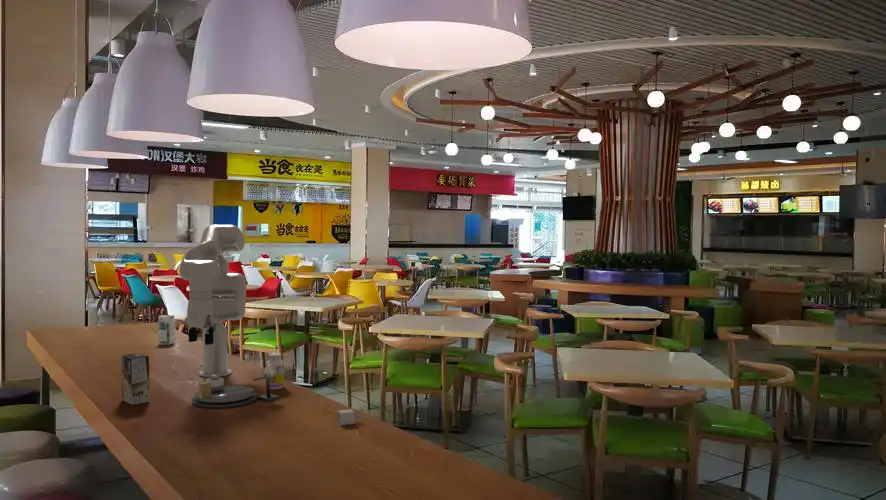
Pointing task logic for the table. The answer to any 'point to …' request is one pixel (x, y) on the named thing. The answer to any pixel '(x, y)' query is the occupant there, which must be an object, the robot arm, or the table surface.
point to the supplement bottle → (278, 379)
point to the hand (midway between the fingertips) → (201, 342)
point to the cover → (216, 383)
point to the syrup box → (166, 329)
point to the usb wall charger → (347, 417)
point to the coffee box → (135, 378)
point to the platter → (223, 394)
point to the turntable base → (227, 405)
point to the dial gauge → (268, 382)
